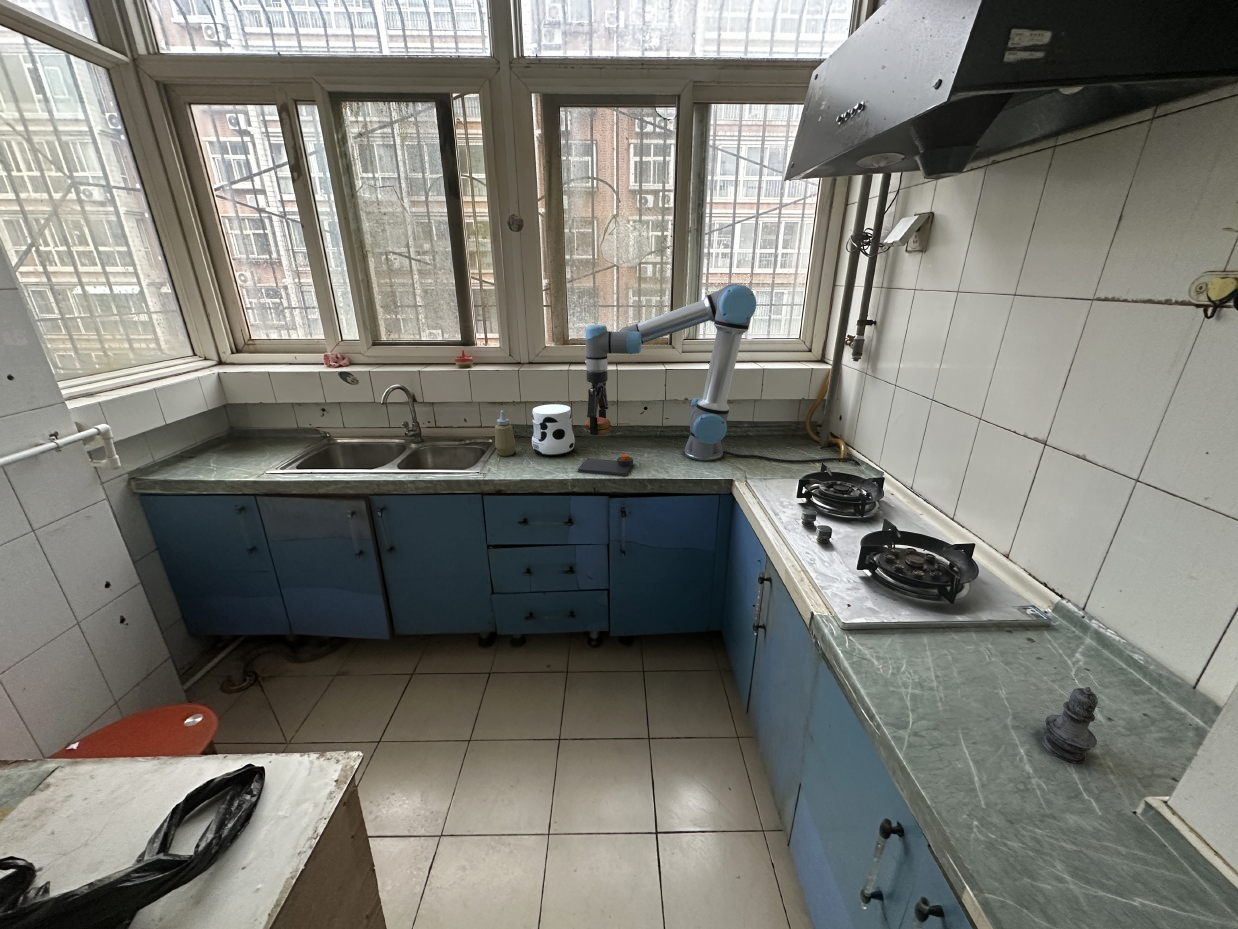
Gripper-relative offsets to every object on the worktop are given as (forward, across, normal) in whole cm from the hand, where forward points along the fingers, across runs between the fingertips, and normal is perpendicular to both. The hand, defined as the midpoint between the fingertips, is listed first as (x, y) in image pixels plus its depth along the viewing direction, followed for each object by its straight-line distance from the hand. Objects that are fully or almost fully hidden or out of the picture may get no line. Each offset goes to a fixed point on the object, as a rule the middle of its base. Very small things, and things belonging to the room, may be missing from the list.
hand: (598, 430), depth 185 cm
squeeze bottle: (+14, -2, -40) cm, 43 cm away
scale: (+14, +3, +4) cm, 14 cm away
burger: (0, 0, 0) cm, 0 cm away
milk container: (+14, -10, -22) cm, 28 cm away
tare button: (+11, -1, +10) cm, 15 cm away
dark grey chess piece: (+14, +98, +105) cm, 144 cm away
